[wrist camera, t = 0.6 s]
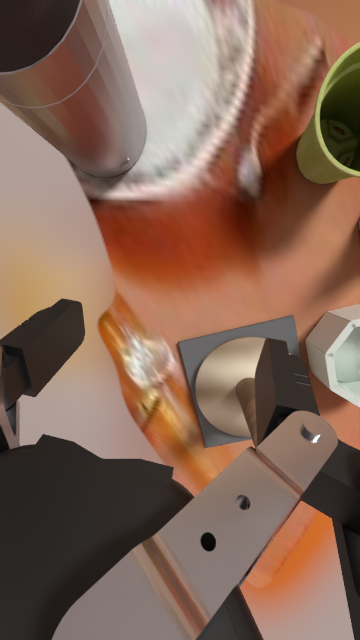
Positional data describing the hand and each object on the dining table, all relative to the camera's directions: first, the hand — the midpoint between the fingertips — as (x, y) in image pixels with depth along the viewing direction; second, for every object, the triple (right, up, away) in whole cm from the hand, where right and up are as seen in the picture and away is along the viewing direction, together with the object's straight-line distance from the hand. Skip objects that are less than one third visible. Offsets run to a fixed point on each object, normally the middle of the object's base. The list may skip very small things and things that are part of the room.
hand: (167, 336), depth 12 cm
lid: (+9, -8, +23) cm, 25 cm away
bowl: (+21, -3, +21) cm, 30 cm away
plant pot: (+16, +18, +17) cm, 30 cm away
